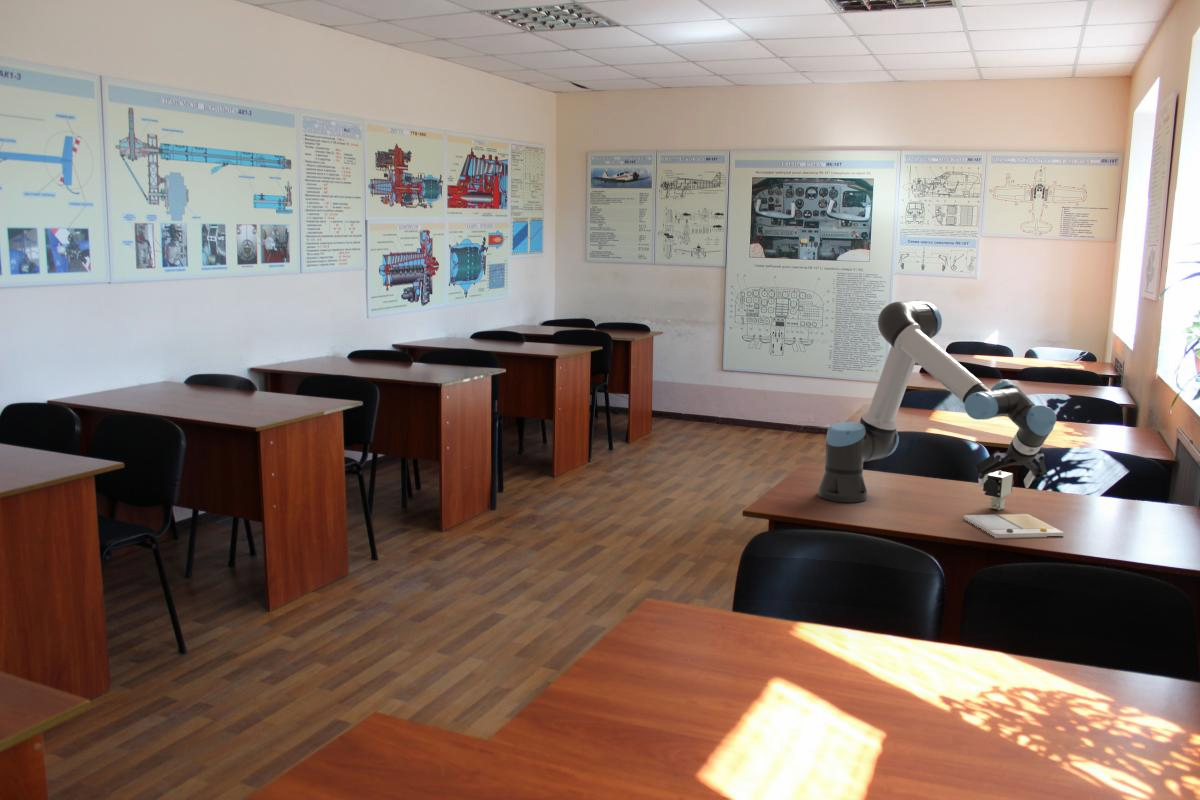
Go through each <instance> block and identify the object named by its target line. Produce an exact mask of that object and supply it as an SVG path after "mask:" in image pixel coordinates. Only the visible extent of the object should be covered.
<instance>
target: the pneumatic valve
mask: <svg viewBox="0 0 1200 800" xmlns="http://www.w3.org/2000/svg"><path fill="white" fill-rule="evenodd" d="M1014 482H1015V481H1014V473H1013V472H1009V471H1008V472H1007V471H1002V470H999V469H998V470H995V471H993V472H990V473H988V477H987V479H986V481H985V482H984V484H983V486H982V487H983V489H982V492H984V496H989V500H990V503H989V509H990V508H991V510H992V509H994V510H998V511H1002V510H1004V509H1005V508H1006V507H1005V504H1006V502H1005V501H1006V497H1005V496H1007V495H1009V494H1011V493H1012V492H1013V485H1014Z"/></svg>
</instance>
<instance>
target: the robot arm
mask: <svg viewBox="0 0 1200 800" xmlns="http://www.w3.org/2000/svg"><path fill="white" fill-rule="evenodd" d="M942 324H943V319H942V314H941V313H940V311H939V309H938V308H937V306H935V305H934V304H933V303H931V302H929V301H924V300H914V301H913V300H912V301H911V300H910V301H895V302H892V303H889V304H887V305H886V306H885V307H883V308H882V310H881V311H880V313H879V315H878V318H877V327H878V331H879V333H880V334H881V336H882V337H883V339H884V340H885V341H886V342H887V343H888V344H889V345H890V349H889V351H888V354H887V357H886V359H885V363H884V366H883V369H882V371H881V374H880V376H879V380H878V382H877V384H876V388H875V391H874V394H873V397H872V400H871V403H870V406H869V408H868V411H866V412H863V413H862V414H861V417H860V420H859V421H858V422H856V421H845V422H843V421H841V422H836V423H833V424H831V425H829V427H828V428H827V432H826V437H825V441H826V442H825V462H824V463H825V465H824V472H823V476H822V478H821V481H820V483H819V486H818V489H817V490H818V491H817V496H818V497H819V498H822V499H823V500H826V501H831V502H837V503H850V504H851V503H861V502H864V501H866V500H867V499H868V489H867V487H866V483H865V478H864V474H863V469H864V462H869V461H874V460H881V459H885V458H887V457H888V456H891V455H892V454H894V452H895V451H896V449H897V447H898V445H899V441H900V437H899V434H898V423H897V421H896V417H897V414H898V412H899V409H900V407H901V405H902V404H901V403H902V401H903V399H904V395H905V392H906V389H907V387H908V384H909V383H910V382H909V381H910V378H911V376H912V373H913V370H914V367H915V365H916V363H917V364H918V365H919V366H920V367H921V368H923V369H924V371H926V372H927V373H929V374H930V375H931V376H932V377H933V378H934V379H935V380H936V381H937V382H939V384H940V385H942V386H943V387H944V388H946V389H947V390H948V391H949V392H950V393H951V394H953V396H955V397H956V398H957V399H958V400H959V401H961V402H962V403H963V404H964V410H965V412H966V414H967V415H968V417H969V418H971V419H972V420H973V419H974V420H978V421H979V420H991V419H993V418H1000V417H1005V416H1007V418H1008V419H1010V421H1011V422H1012V423H1013V424H1014V425H1016V426H1017V427H1018V430H1016V433H1015V434H1014V437H1013V439H1012V440H1011V442H1010V444H1009V446H1008V448H1007V450H1006V451H1005V452H1000V450H998V449H997V450H995V451H994V452H993V453H992V454H991V455H989V456H988V457H986V458H985V459H982V461H980V462H978V463H977V464H975V470H976V471H975V472H976V474H977V475H978V478H977V480H978V486H979V487H983V485H984V482H985V481H986V479H987V477H988V473H990V472H991V473H994V472H996V471H998V470H999V469H1002V468H1008V467H1010V466H1025V468H1027V469H1029V471H1028V473H1027V474H1026V476H1025V477H1024V479H1023V484H1024V487H1025V489H1029V487H1030V486H1031V484H1032V483H1033V481H1036V480H1037V479H1041V475H1042V476H1047V475H1048V473H1047V472H1048V471H1047V469H1046V465H1045V455H1044V451H1042V450H1041V451H1040V449H1041V448H1042V447H1043V445H1044V444H1045V441H1046V440H1047V439H1048V437H1049V435H1051V433H1052V431H1053V429H1054V427H1055V425H1056V423H1057V414H1056V412H1055V411H1054V410H1053V408H1051V407H1048V406H1046V405H1044V404H1035V402H1033V401H1032V400H1031V399H1030V398H1029V397H1028V396H1027V395H1026V394H1025V392H1023V391H1022V390H1021V389H1020V388H1019V387H1018V385H1016V384H1014V382H1012V380H1010V379H1003V380H1001V381H999V382H997V383H996V384H994V385H993V386H992V387H991V389H990V387H988V386H987V385H986V384H984V383H983V382H982V381H981V380H980V379H978V378H977V377H976V376H975V375H974V374H973V373H971V372H970V371H969V370H968V369H967V368H966V367H965V366H963V365H962V364H960V362H958V361H957V360H956V358H953V356H951V355H950V354H949V353H948V352H947V351H945V350H944V349H943V348H942V347H940V346H939V345H938V344H937V343H935V342H934V341H933V340H932V338H934V337H935V336H937V335H938V334H939V332H940V330H941V329H942ZM1034 460H1036V461H1037V462H1038V464H1039V467H1038V466H1037V465H1036V464H1035V462H1033V461H1034Z"/></svg>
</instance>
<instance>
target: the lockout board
mask: <svg viewBox="0 0 1200 800" xmlns="http://www.w3.org/2000/svg"><path fill="white" fill-rule="evenodd" d="M964 519H965V520H964ZM963 520H964V521H966V520H967V521H968V523H969V522H970V523H969V524H971V523H972V524H974V525H975V527H976V526H977V527H976V528H978V527H979V528H981V529H982V530H981V529H980V530H981V531H983V530H984V531H986V532H987V534H988V533H989V534H990V536H991V535H992V536H991V537H993V536H994V537H993V538H994V539H1011V538H1012V539H1014V538H1015V539H1017V538H1048V537H1047V536H1063V537H1064V534H1065V533H1064V531H1062V530H1060V529H1058V528H1056V527H1054V526H1052V525H1050V524H1048V523H1046V522H1045V521H1042V520H1041V519H1038V518H1037V517H1034V516H1033V515H1030V514H1028V513H1012V514H1011V513H1010V514H1008V513H1007V514H1006V513H1005V514H1004V513H1003V514H1002V513H1001V514H965V515H963ZM967 521H966V522H967ZM972 524H971V525H972ZM974 525H973V526H974ZM979 528H978V529H979ZM984 531H983V532H984ZM986 532H985V533H986ZM989 534H988V535H989Z"/></svg>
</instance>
